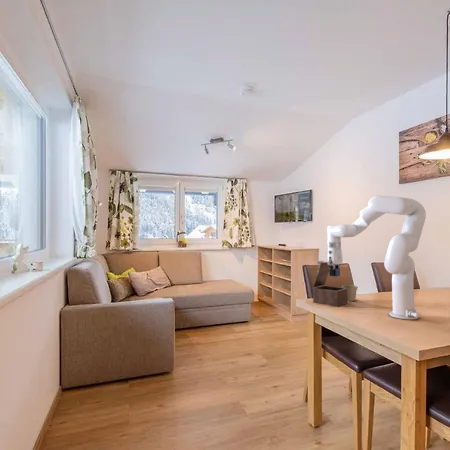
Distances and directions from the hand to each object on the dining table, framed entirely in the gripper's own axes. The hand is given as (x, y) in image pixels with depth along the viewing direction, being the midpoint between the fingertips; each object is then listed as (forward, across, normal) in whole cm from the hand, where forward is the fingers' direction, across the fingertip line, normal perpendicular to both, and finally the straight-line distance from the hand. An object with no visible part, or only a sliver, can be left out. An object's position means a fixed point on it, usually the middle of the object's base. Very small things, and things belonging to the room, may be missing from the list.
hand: (334, 275), depth 183 cm
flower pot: (+17, +15, -2) cm, 23 cm away
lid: (0, 0, +8) cm, 8 cm away
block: (0, 0, 0) cm, 0 cm away
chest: (+17, 0, +3) cm, 17 cm away
